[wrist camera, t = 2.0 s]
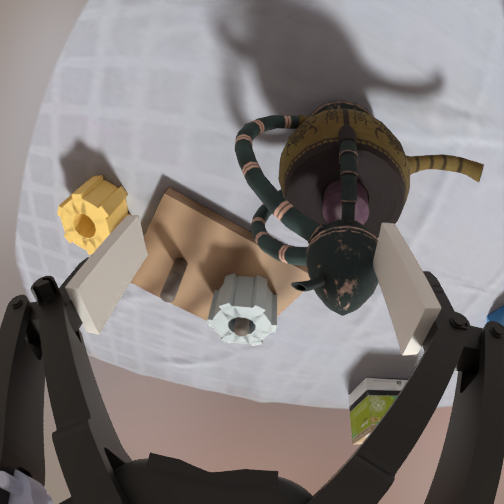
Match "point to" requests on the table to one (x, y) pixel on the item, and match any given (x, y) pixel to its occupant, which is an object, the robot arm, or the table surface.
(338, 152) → the teapot
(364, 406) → the tea box
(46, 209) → the table surface
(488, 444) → the robot arm
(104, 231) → the ochre gear
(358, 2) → the table surface
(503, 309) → the perfume bottle
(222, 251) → the gear board
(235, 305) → the pale grey gear
